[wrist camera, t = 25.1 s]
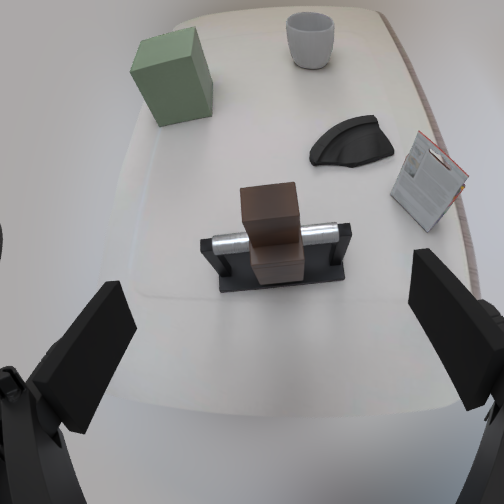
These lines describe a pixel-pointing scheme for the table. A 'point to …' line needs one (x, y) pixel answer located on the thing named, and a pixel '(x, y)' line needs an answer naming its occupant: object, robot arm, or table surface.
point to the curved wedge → (352, 143)
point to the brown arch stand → (273, 232)
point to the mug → (310, 39)
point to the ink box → (427, 183)
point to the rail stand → (316, 256)
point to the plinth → (174, 77)
